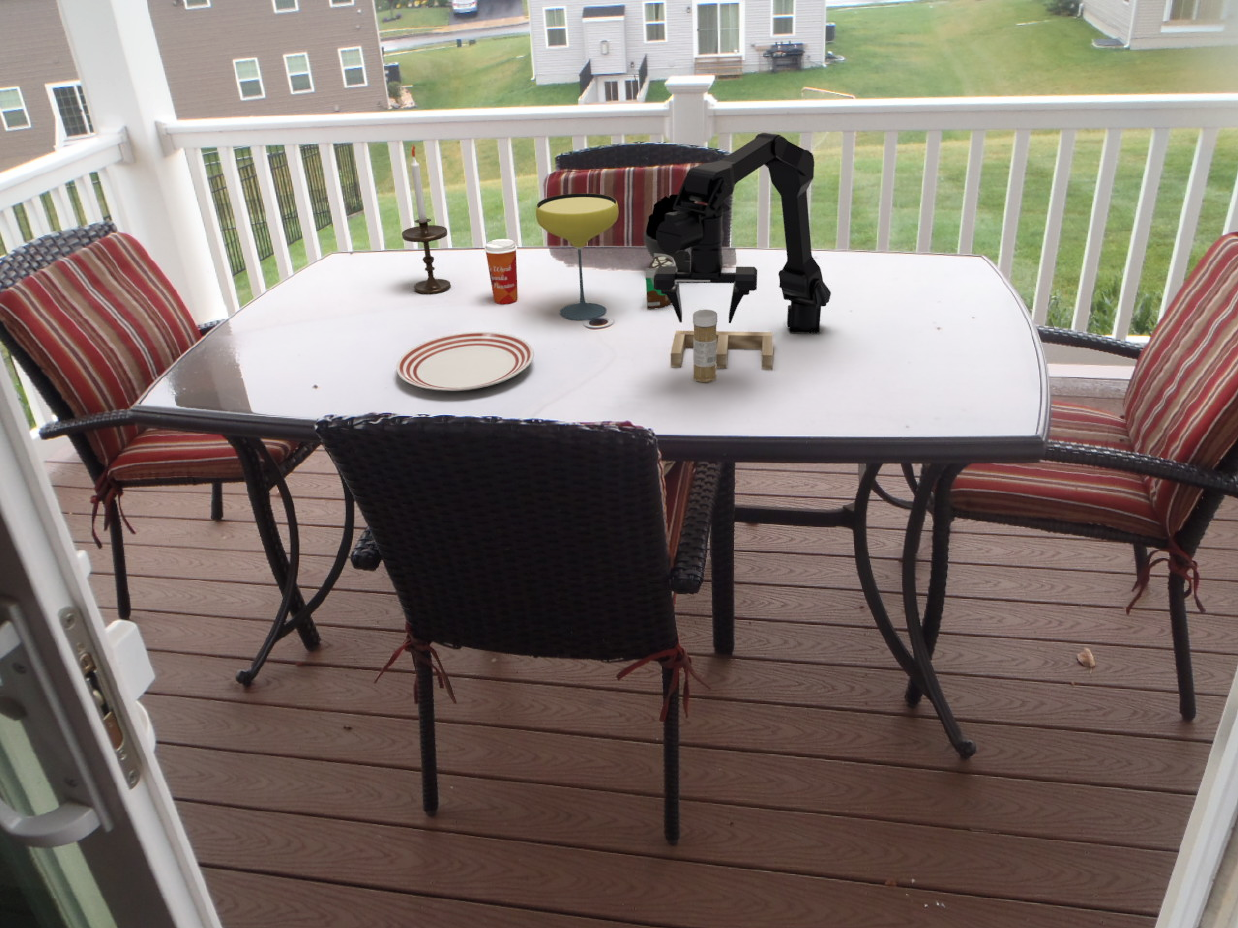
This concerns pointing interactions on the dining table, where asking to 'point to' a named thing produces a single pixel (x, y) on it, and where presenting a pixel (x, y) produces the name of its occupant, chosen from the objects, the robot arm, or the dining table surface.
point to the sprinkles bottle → (704, 345)
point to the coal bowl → (652, 226)
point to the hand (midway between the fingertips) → (705, 322)
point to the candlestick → (425, 237)
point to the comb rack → (726, 346)
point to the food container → (653, 295)
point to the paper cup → (502, 270)
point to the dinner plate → (465, 361)
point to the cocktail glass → (578, 234)
